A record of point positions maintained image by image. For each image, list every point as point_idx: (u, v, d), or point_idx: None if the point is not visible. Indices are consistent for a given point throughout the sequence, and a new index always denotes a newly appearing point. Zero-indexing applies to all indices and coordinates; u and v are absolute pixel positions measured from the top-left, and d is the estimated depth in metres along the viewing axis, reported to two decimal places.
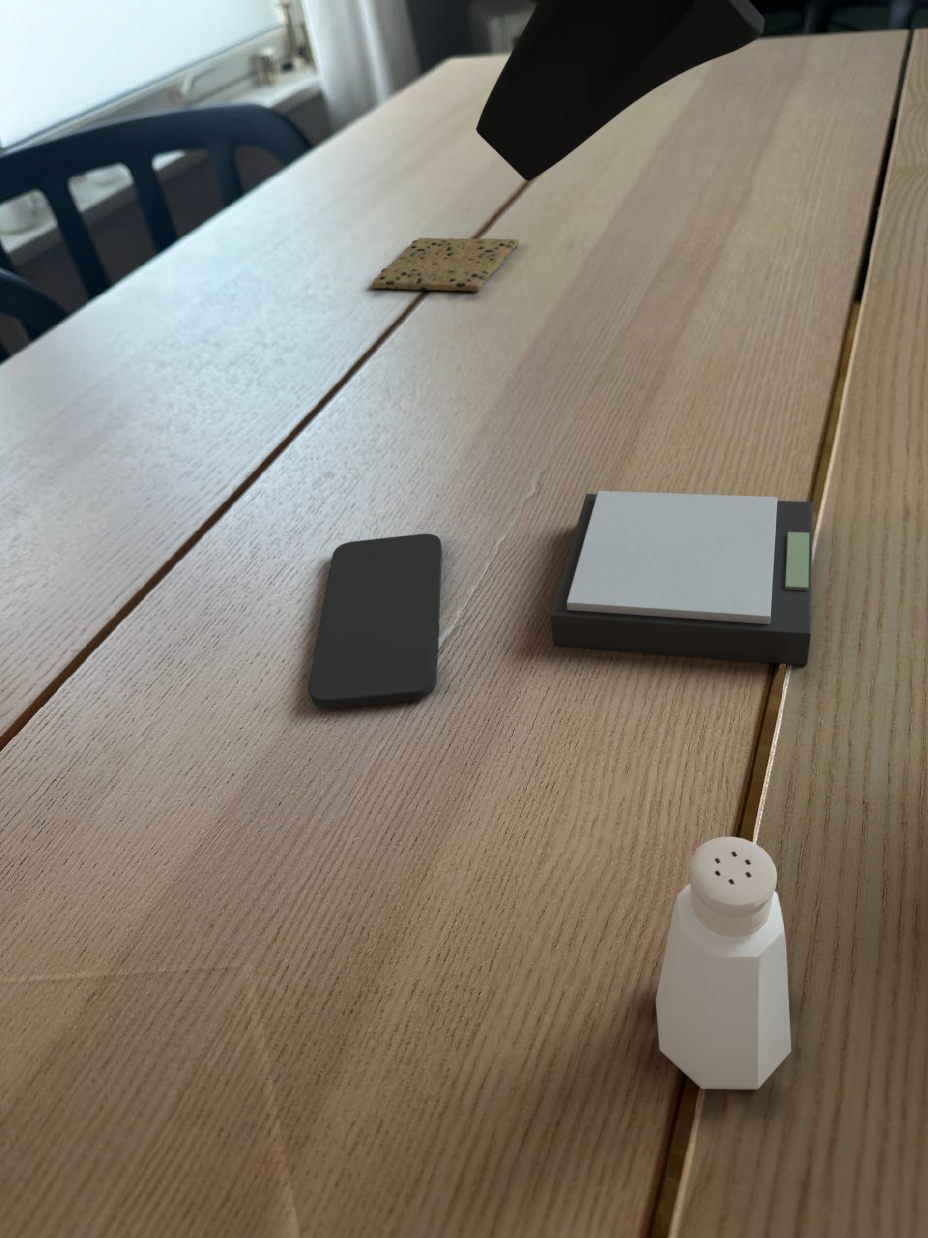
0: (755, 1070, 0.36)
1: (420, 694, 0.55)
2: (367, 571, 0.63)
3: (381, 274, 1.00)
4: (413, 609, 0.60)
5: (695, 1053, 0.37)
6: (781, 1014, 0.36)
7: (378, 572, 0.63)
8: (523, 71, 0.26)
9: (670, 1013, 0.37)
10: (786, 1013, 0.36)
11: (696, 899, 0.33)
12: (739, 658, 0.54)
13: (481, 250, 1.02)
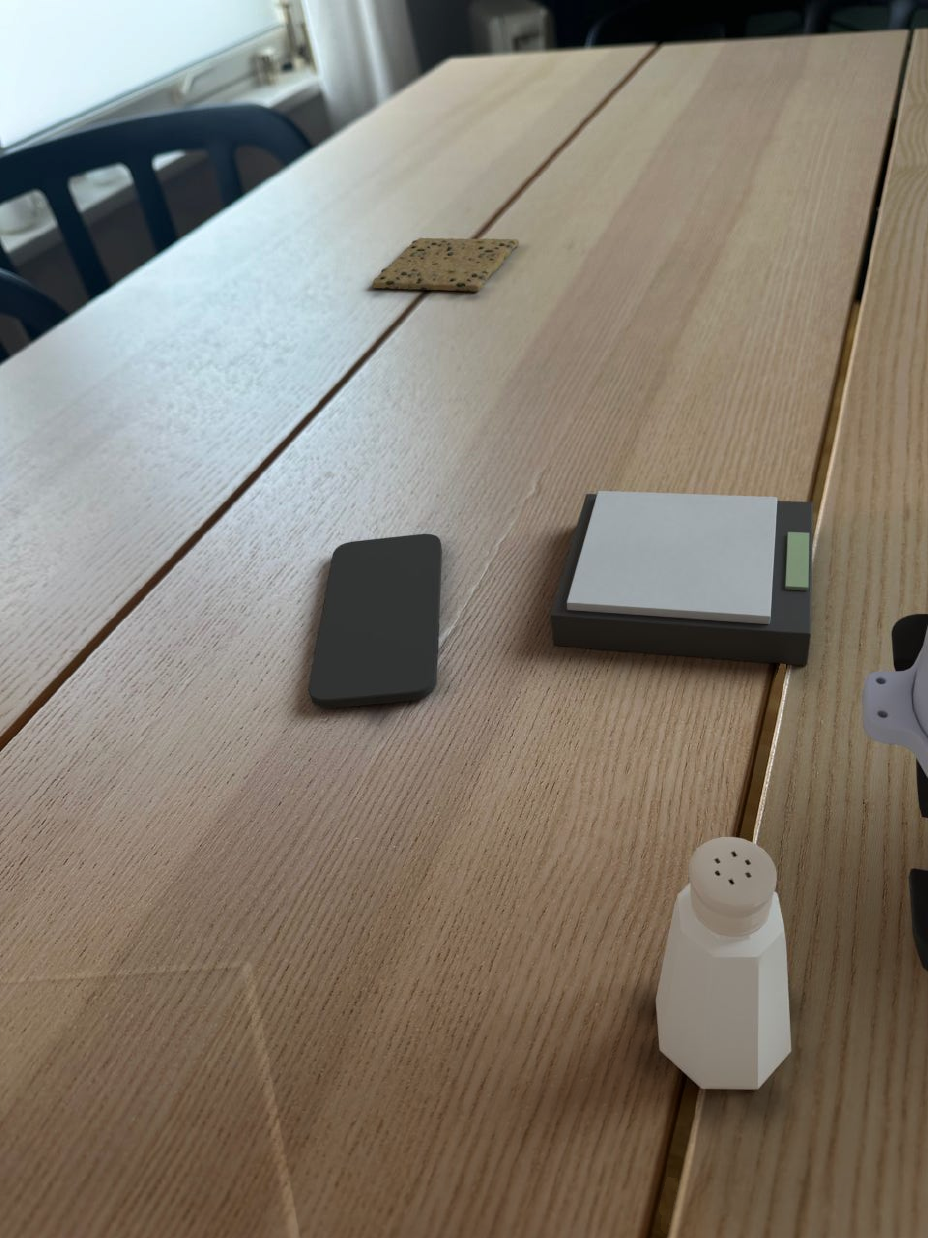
0: (755, 1070, 0.36)
1: (420, 695, 0.55)
2: (367, 571, 0.63)
3: (381, 274, 1.00)
4: (413, 609, 0.60)
5: (695, 1053, 0.37)
6: (781, 1014, 0.36)
7: (378, 572, 0.63)
8: None
9: (670, 1013, 0.37)
10: (786, 1013, 0.36)
11: (696, 899, 0.33)
12: (739, 658, 0.54)
13: (481, 250, 1.02)
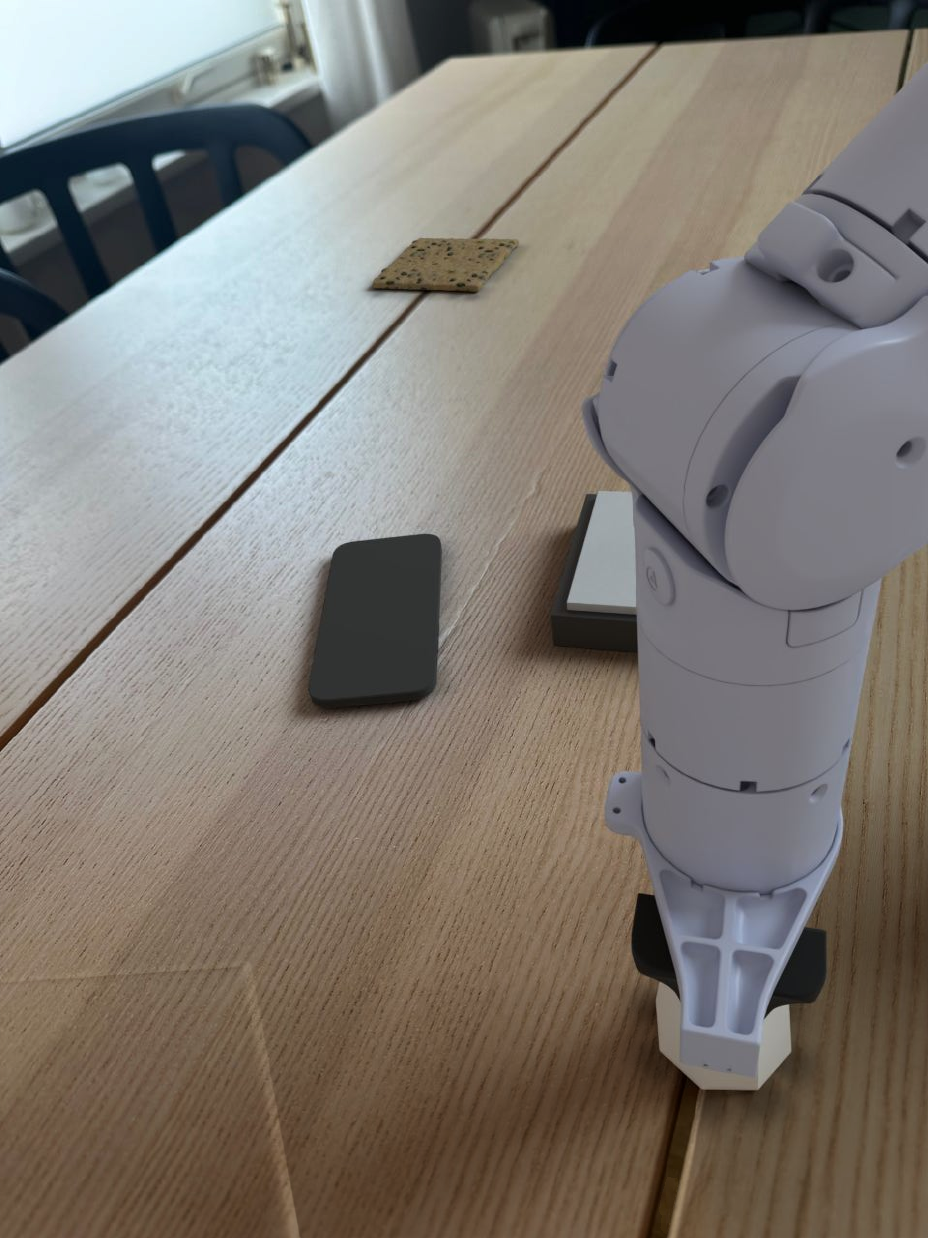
0: None
1: (420, 694, 0.55)
2: (367, 571, 0.63)
3: (381, 274, 1.00)
4: (413, 609, 0.60)
5: None
6: (781, 1015, 0.36)
7: (378, 572, 0.63)
8: None
9: (670, 1014, 0.37)
10: (786, 1014, 0.36)
11: None
12: None
13: (481, 250, 1.02)
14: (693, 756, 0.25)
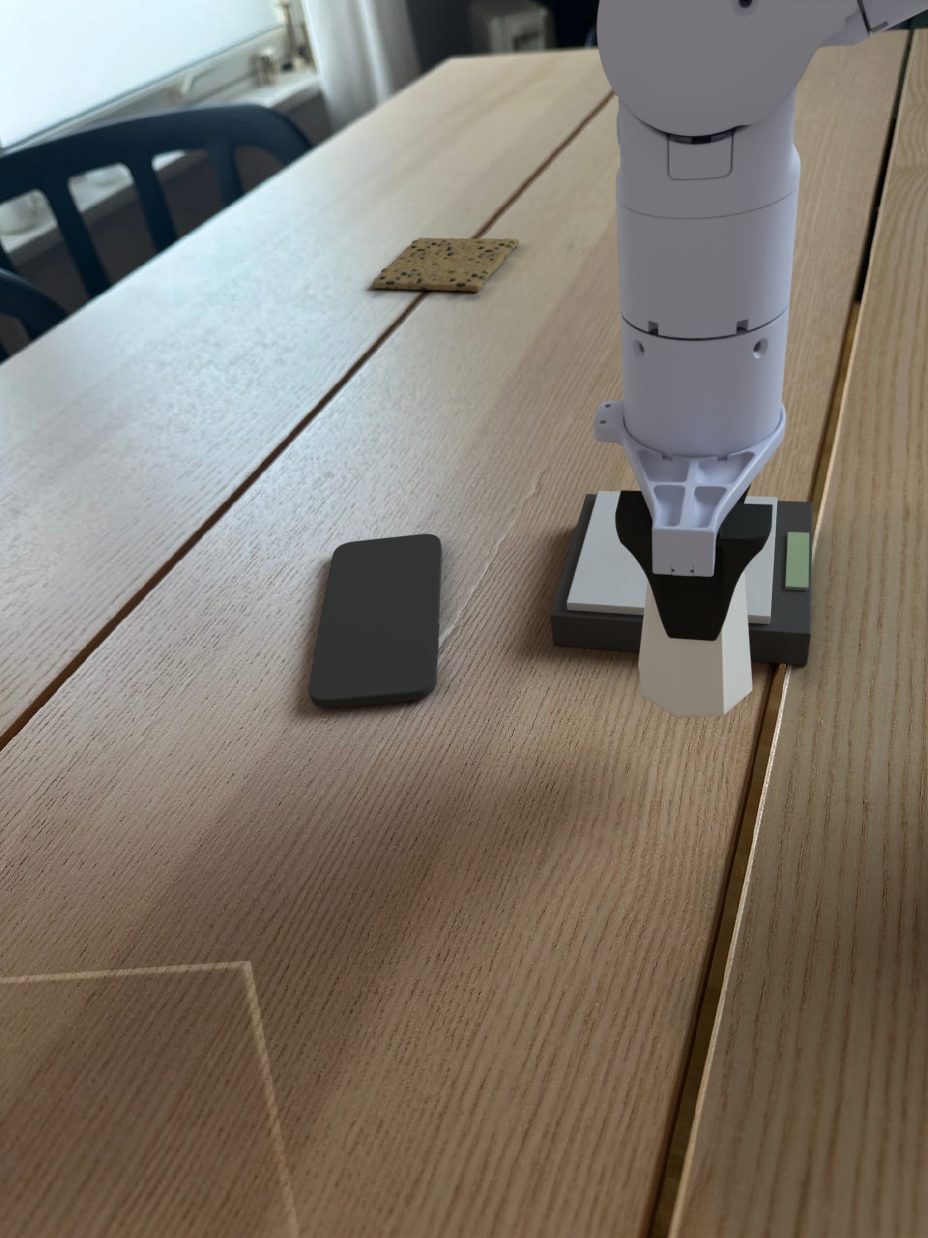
0: (721, 692, 0.43)
1: (420, 695, 0.55)
2: (367, 571, 0.63)
3: (381, 274, 1.00)
4: (413, 609, 0.60)
5: (670, 680, 0.43)
6: (742, 640, 0.43)
7: (378, 572, 0.63)
8: (668, 603, 0.40)
9: (649, 647, 0.43)
10: (746, 642, 0.43)
11: None
12: None
13: (481, 250, 1.02)
14: (626, 296, 0.33)
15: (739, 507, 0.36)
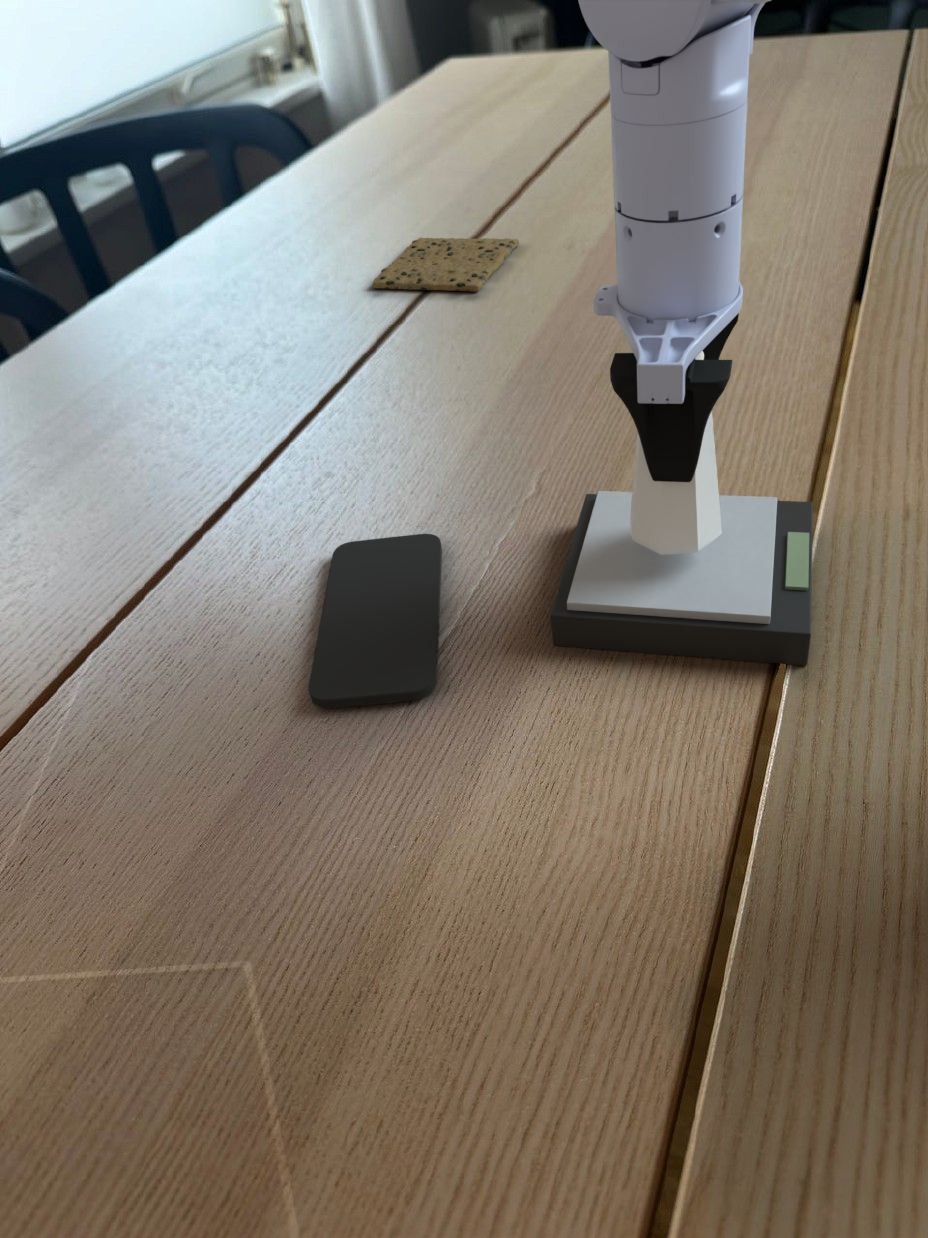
0: (695, 530, 0.54)
1: (420, 694, 0.55)
2: (367, 571, 0.63)
3: (381, 274, 1.00)
4: (413, 609, 0.60)
5: (655, 520, 0.54)
6: (712, 486, 0.53)
7: (378, 572, 0.63)
8: (652, 449, 0.50)
9: (638, 494, 0.54)
10: (716, 488, 0.53)
11: None
12: (739, 658, 0.54)
13: (481, 250, 1.02)
14: None
15: (706, 362, 0.47)
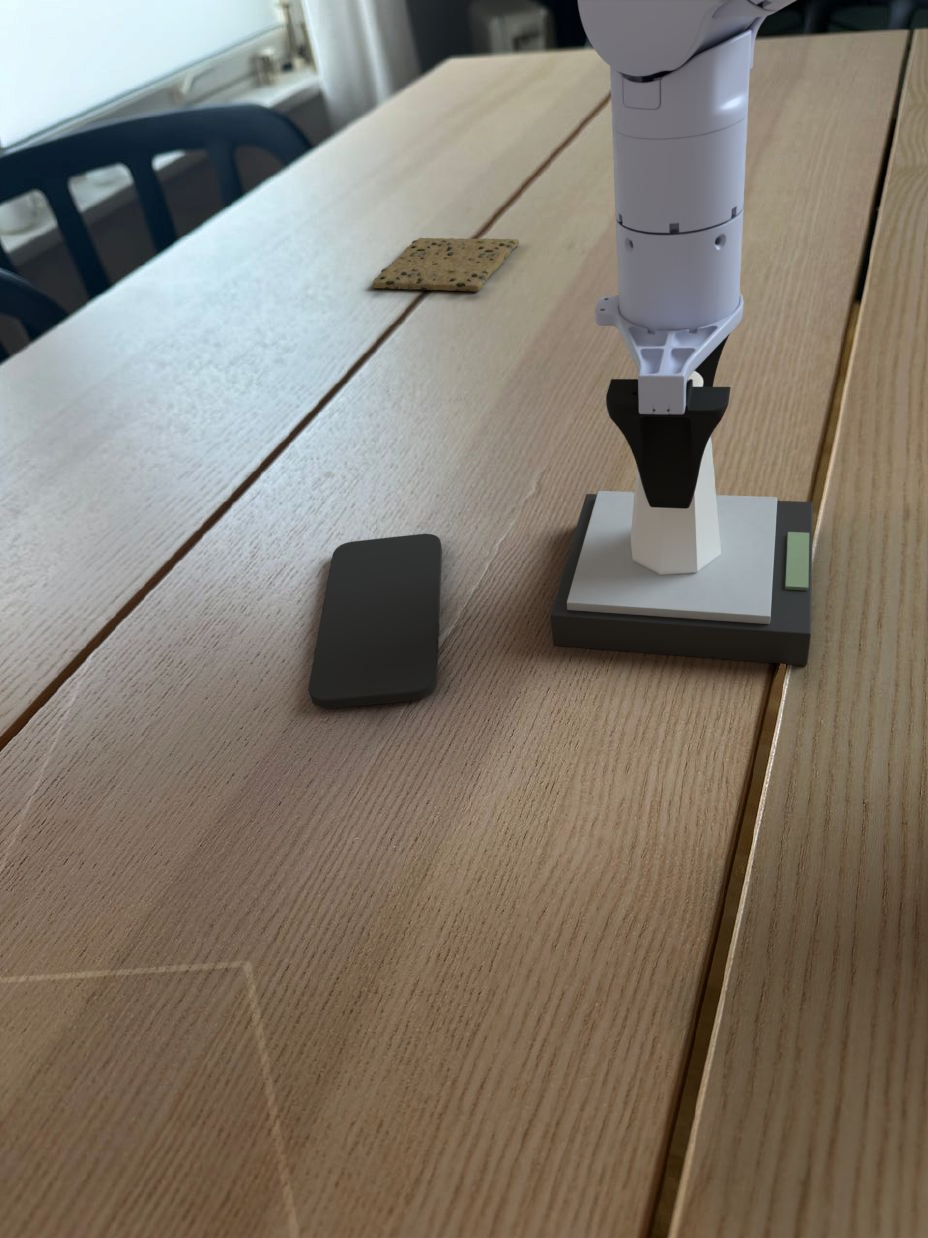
0: (695, 551, 0.55)
1: (420, 694, 0.55)
2: (367, 571, 0.63)
3: (381, 274, 1.00)
4: (413, 609, 0.60)
5: (655, 541, 0.55)
6: (711, 508, 0.54)
7: (378, 572, 0.63)
8: (649, 475, 0.49)
9: (638, 516, 0.55)
10: (715, 510, 0.54)
11: None
12: (739, 658, 0.54)
13: (481, 250, 1.02)
14: None
15: (704, 389, 0.46)
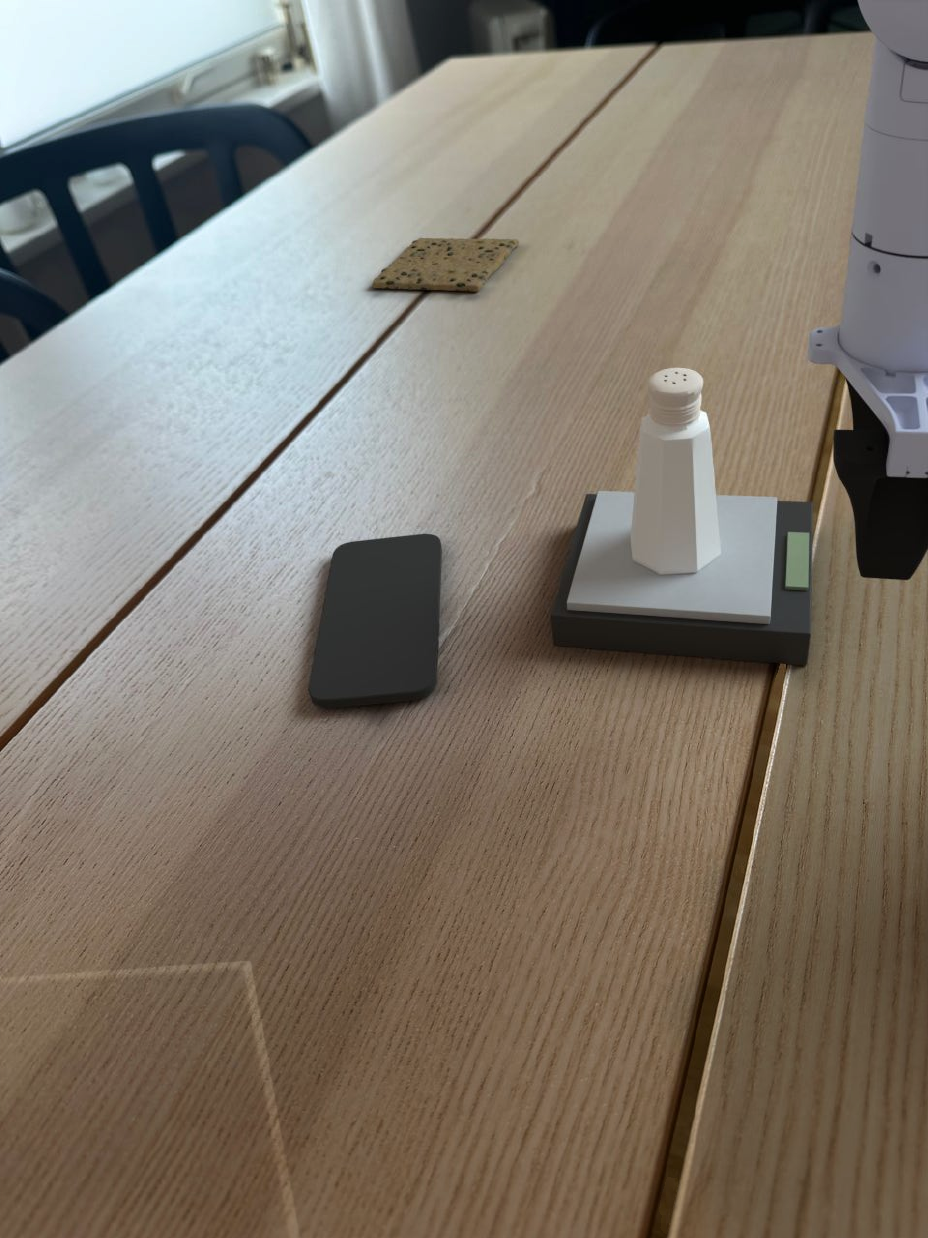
0: (695, 551, 0.55)
1: (420, 695, 0.55)
2: (367, 571, 0.63)
3: (381, 274, 1.00)
4: (413, 609, 0.60)
5: (655, 541, 0.55)
6: (711, 508, 0.54)
7: (378, 572, 0.63)
8: (868, 542, 0.41)
9: (638, 516, 0.55)
10: (715, 510, 0.54)
11: (652, 402, 0.51)
12: (739, 658, 0.54)
13: (481, 250, 1.02)
14: (855, 208, 0.37)
15: None
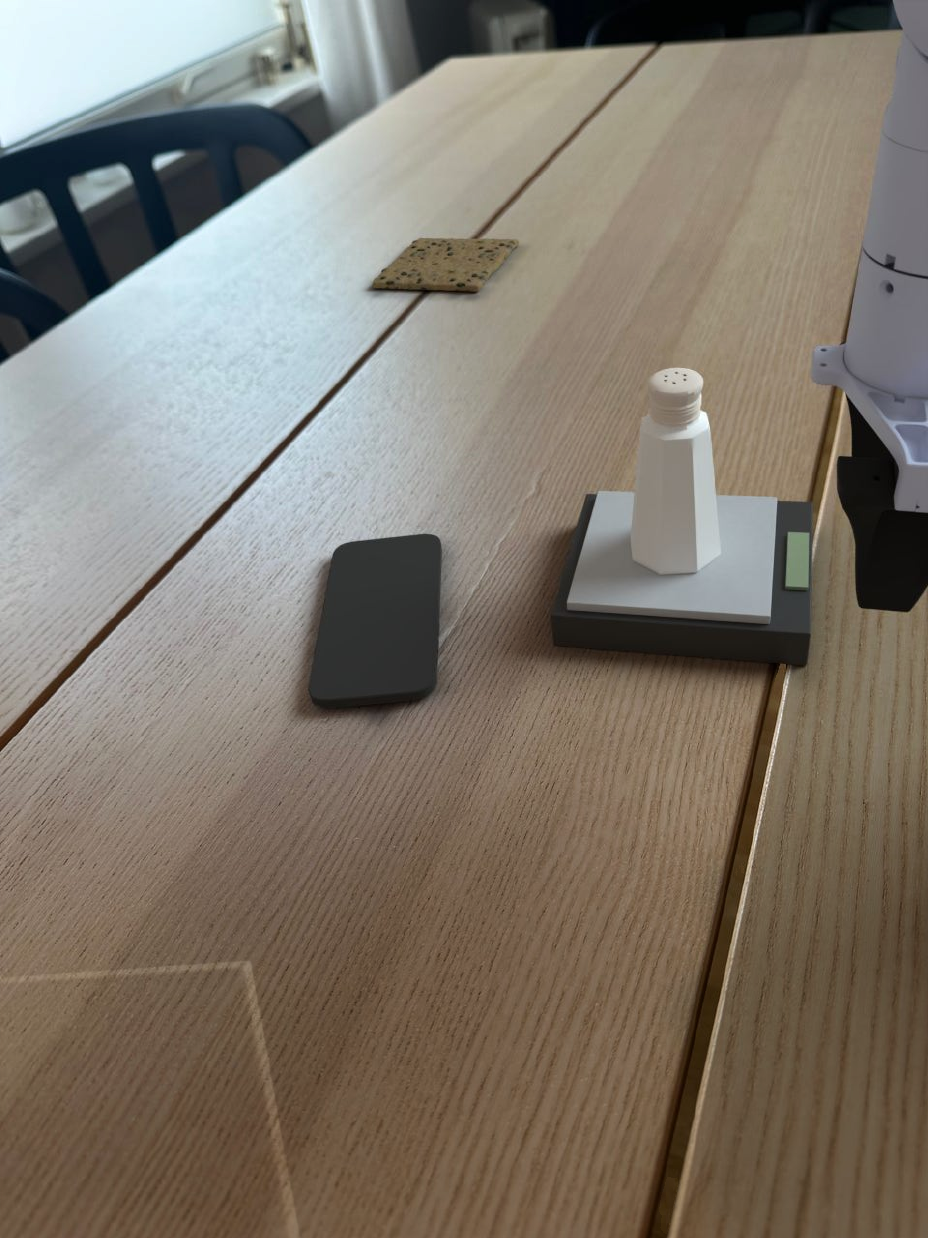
0: (695, 551, 0.55)
1: (420, 695, 0.55)
2: (367, 571, 0.63)
3: (381, 274, 1.00)
4: (413, 609, 0.60)
5: (655, 541, 0.55)
6: (711, 508, 0.54)
7: (378, 572, 0.63)
8: (868, 573, 0.39)
9: (638, 516, 0.55)
10: (715, 510, 0.54)
11: (652, 402, 0.51)
12: (739, 658, 0.54)
13: (481, 250, 1.02)
14: (870, 227, 0.34)
15: None
